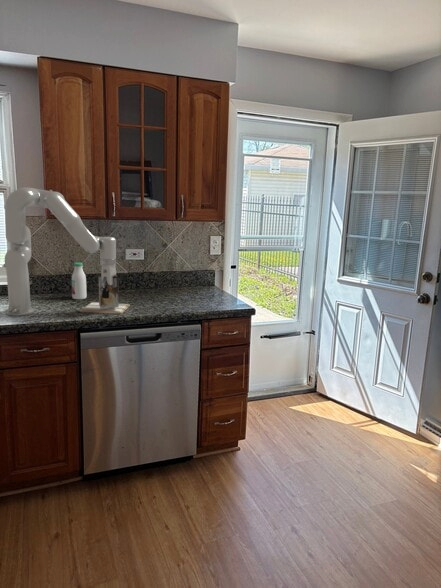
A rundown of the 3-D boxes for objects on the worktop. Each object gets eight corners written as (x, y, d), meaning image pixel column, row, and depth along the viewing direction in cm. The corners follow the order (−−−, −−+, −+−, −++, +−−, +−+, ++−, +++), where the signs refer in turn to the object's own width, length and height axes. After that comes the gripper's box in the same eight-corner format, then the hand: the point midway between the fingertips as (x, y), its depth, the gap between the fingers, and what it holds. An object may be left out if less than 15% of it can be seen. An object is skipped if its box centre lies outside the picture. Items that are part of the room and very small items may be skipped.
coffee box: (116, 304, 219) (116, 273, 215) (118, 307, 213) (118, 276, 210) (98, 304, 216) (98, 274, 212) (100, 308, 210) (99, 276, 206)
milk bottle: (88, 296, 241) (87, 262, 237) (84, 300, 234) (83, 264, 229) (74, 296, 241) (73, 261, 236) (70, 299, 233) (69, 263, 229)
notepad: (120, 314, 210) (120, 312, 210) (79, 311, 211) (79, 309, 211) (130, 305, 227) (130, 303, 226) (91, 303, 228) (91, 301, 227)
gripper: (110, 265, 201) (110, 300, 205) (120, 259, 218) (120, 292, 222) (94, 264, 201) (95, 299, 205) (106, 259, 218) (106, 291, 222)
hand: (108, 295), depth 213 cm, fingers closed on coffee box, 8 cm apart
